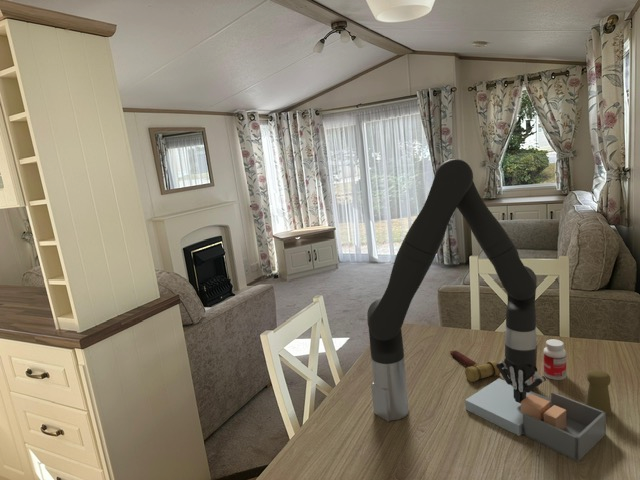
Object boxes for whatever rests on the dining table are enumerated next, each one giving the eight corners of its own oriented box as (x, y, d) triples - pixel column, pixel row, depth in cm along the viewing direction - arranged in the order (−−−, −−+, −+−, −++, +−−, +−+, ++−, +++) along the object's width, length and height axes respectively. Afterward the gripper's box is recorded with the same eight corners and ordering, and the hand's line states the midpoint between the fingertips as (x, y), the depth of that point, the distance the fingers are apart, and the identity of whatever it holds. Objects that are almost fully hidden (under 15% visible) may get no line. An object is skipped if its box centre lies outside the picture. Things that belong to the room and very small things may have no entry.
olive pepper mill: (599, 418, 112) (599, 380, 109) (579, 406, 117) (579, 369, 115) (617, 412, 113) (618, 374, 111) (597, 400, 119) (597, 364, 117)
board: (519, 436, 109) (519, 425, 108) (465, 409, 122) (465, 399, 121) (552, 409, 117) (552, 399, 117) (499, 387, 130) (498, 378, 130)
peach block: (543, 430, 109) (555, 436, 106) (543, 413, 108) (555, 418, 105) (554, 422, 111) (566, 427, 109) (554, 404, 110) (566, 409, 108)
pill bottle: (541, 370, 137) (540, 338, 135) (562, 370, 135) (562, 337, 133) (547, 380, 131) (546, 347, 129) (569, 380, 129) (569, 347, 127)
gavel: (437, 347, 153) (462, 342, 156) (438, 360, 154) (463, 354, 156) (472, 370, 133) (500, 363, 135) (473, 384, 134) (501, 377, 136)
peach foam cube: (540, 420, 109) (540, 409, 109) (520, 411, 113) (521, 401, 112) (549, 411, 112) (549, 401, 111) (530, 403, 116) (530, 393, 115)
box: (577, 462, 98) (577, 438, 97) (523, 435, 109) (522, 414, 108) (605, 434, 106) (606, 412, 105) (552, 411, 116) (552, 391, 115)
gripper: (489, 339, 115) (489, 396, 119) (537, 356, 105) (536, 418, 109) (505, 330, 120) (505, 386, 123) (553, 345, 109) (551, 406, 113)
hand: (519, 401), depth 116 cm, fingers closed
